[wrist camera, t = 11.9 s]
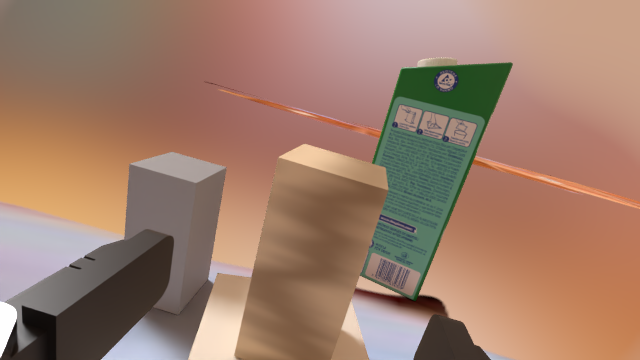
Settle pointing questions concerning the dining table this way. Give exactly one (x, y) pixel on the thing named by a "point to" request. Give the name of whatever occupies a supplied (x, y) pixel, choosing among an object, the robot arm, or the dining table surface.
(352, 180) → the maple block
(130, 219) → the slate block
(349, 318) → the base block
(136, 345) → the dining table surface
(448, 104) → the milk carton
